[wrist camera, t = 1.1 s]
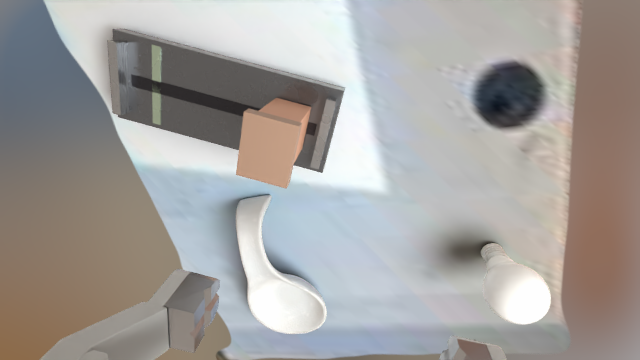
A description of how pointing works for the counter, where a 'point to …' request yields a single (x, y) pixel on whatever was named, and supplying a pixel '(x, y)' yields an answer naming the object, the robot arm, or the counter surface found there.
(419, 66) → the counter surface
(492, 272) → the lightbulb
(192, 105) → the fader track
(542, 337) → the counter surface
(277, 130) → the fader knob
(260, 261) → the spoon rest
